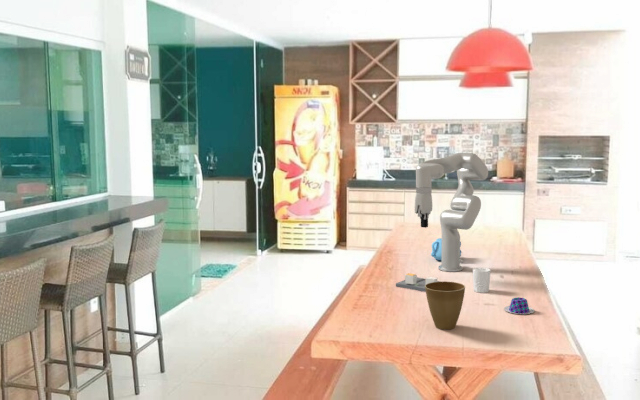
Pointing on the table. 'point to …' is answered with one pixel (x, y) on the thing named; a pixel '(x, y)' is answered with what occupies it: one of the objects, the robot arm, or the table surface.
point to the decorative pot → (438, 249)
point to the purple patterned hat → (519, 306)
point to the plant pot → (445, 303)
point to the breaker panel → (414, 285)
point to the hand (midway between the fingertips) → (424, 227)
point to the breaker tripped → (411, 278)
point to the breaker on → (430, 280)
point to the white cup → (481, 279)
